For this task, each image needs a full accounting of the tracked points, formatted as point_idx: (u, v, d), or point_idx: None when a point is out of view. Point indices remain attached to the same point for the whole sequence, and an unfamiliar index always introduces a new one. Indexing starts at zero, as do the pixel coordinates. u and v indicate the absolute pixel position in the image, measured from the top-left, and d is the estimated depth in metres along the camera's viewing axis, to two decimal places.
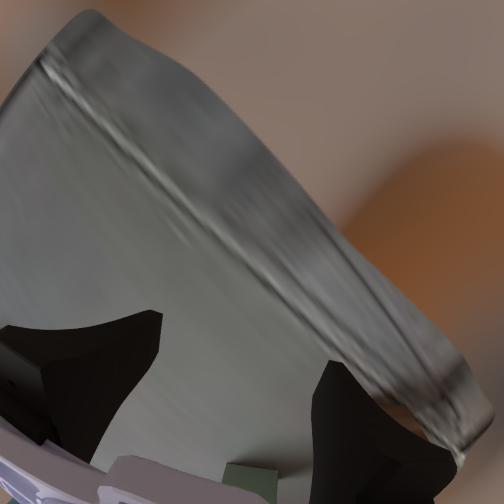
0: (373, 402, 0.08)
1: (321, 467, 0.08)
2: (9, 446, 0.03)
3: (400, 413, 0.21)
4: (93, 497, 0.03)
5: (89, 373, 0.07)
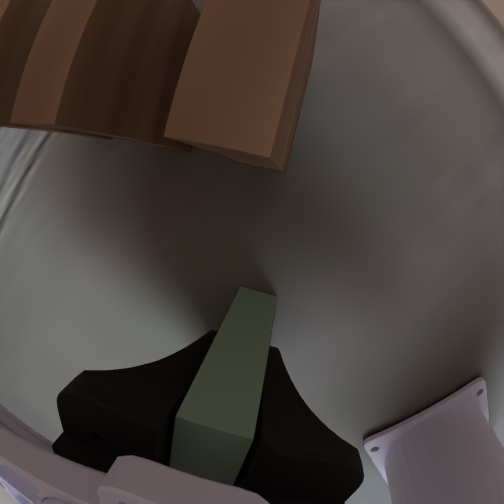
0: (292, 388, 0.08)
1: None
2: (9, 446, 0.03)
3: None
4: (93, 497, 0.03)
5: None
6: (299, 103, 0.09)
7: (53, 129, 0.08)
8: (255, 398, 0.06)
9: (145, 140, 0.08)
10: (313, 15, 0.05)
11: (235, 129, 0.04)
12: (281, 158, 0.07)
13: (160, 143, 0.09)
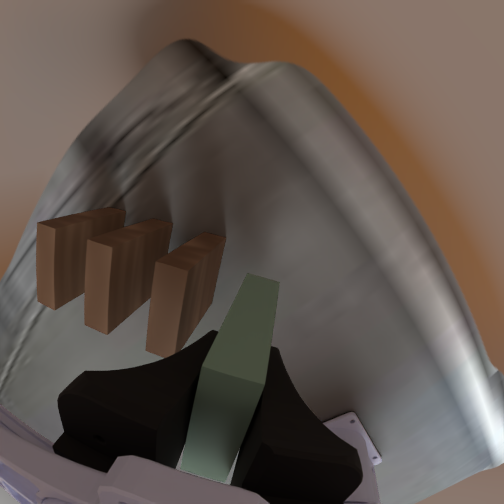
0: (291, 387, 0.08)
1: (240, 452, 0.08)
2: (9, 446, 0.03)
3: None
4: (93, 497, 0.03)
5: (181, 412, 0.07)
6: (208, 286, 0.19)
7: None
8: (265, 356, 0.08)
9: (138, 307, 0.19)
10: (194, 288, 0.15)
11: (164, 352, 0.14)
12: (191, 330, 0.17)
13: (145, 301, 0.20)
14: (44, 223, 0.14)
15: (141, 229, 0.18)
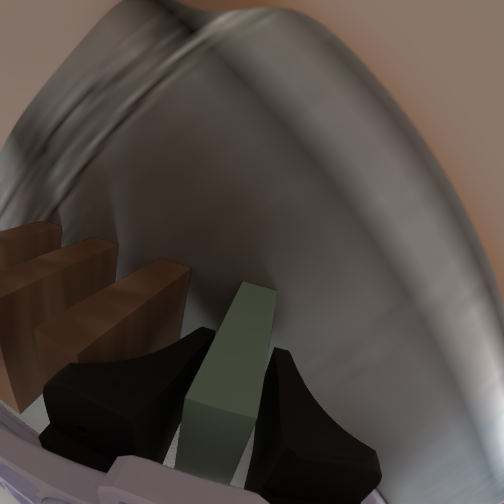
0: (306, 391, 0.08)
1: (254, 456, 0.08)
2: (9, 446, 0.03)
3: None
4: (93, 497, 0.03)
5: (165, 406, 0.07)
6: (160, 343, 0.12)
7: None
8: (258, 382, 0.07)
9: None
10: None
11: None
12: None
13: None
14: None
15: (62, 259, 0.11)
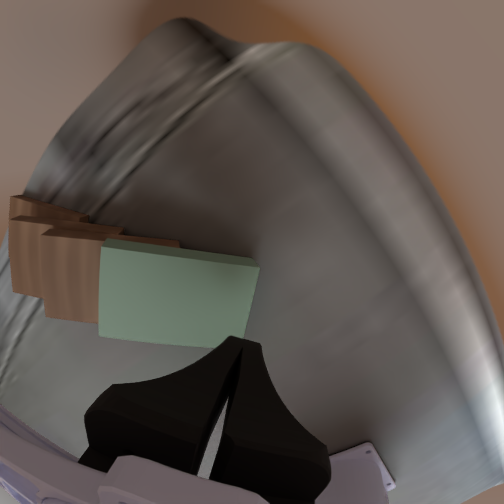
0: (268, 382, 0.08)
1: None
2: (9, 446, 0.03)
3: None
4: (93, 497, 0.03)
5: (210, 421, 0.07)
6: None
7: None
8: (127, 249, 0.14)
9: None
10: (67, 264, 0.14)
11: None
12: (90, 319, 0.16)
13: None
14: (21, 195, 0.19)
15: (67, 224, 0.16)
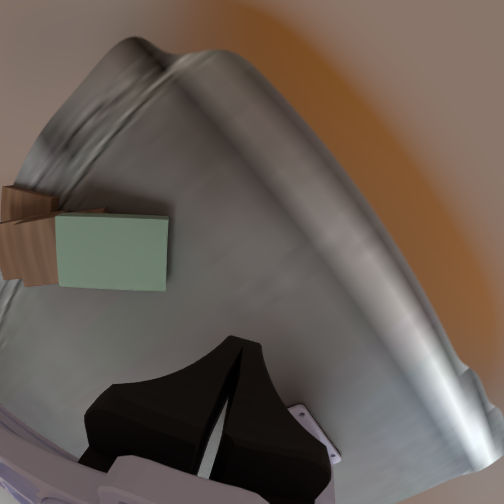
0: (268, 382, 0.08)
1: None
2: (9, 446, 0.03)
3: None
4: (93, 497, 0.03)
5: (210, 421, 0.07)
6: None
7: None
8: (72, 216, 0.18)
9: None
10: (31, 241, 0.18)
11: None
12: (54, 280, 0.20)
13: None
14: (11, 185, 0.22)
15: (29, 217, 0.20)
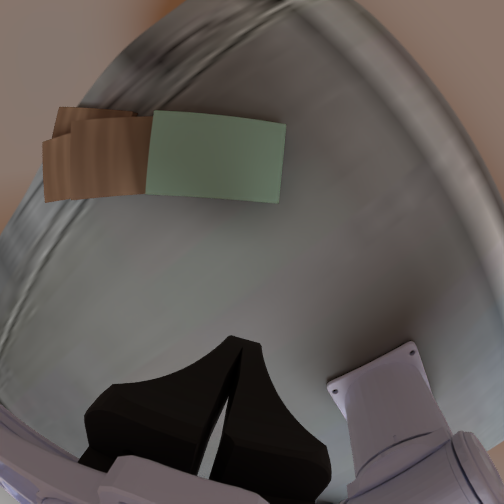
0: (268, 382, 0.08)
1: None
2: (9, 446, 0.03)
3: None
4: (93, 497, 0.03)
5: (210, 421, 0.07)
6: None
7: None
8: (175, 111, 0.16)
9: None
10: (96, 142, 0.16)
11: None
12: (116, 192, 0.17)
13: None
14: None
15: None
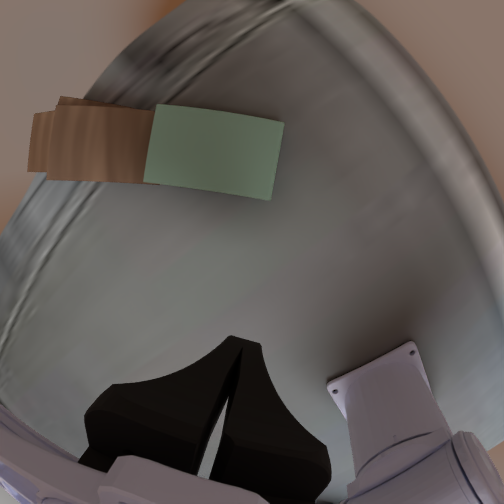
0: (268, 382, 0.08)
1: None
2: (9, 446, 0.03)
3: None
4: (93, 497, 0.03)
5: (210, 421, 0.07)
6: (126, 148, 0.18)
7: None
8: (177, 106, 0.17)
9: None
10: (75, 127, 0.16)
11: None
12: (88, 177, 0.17)
13: None
14: None
15: None
